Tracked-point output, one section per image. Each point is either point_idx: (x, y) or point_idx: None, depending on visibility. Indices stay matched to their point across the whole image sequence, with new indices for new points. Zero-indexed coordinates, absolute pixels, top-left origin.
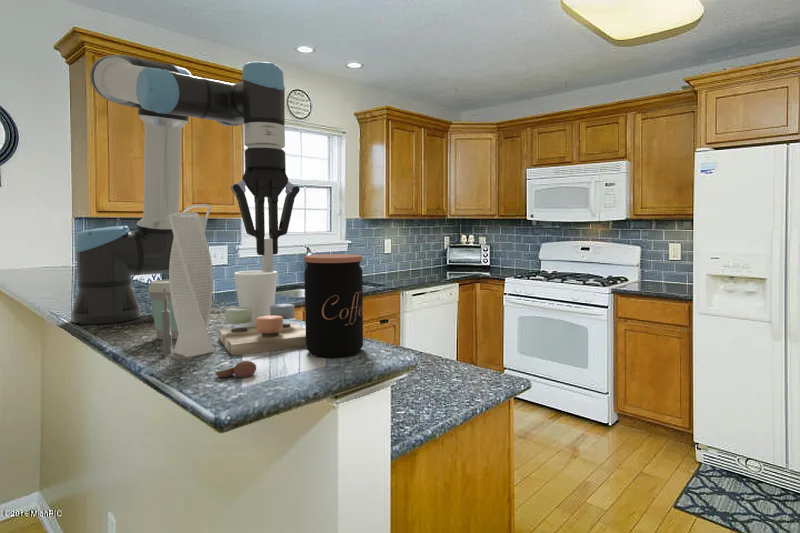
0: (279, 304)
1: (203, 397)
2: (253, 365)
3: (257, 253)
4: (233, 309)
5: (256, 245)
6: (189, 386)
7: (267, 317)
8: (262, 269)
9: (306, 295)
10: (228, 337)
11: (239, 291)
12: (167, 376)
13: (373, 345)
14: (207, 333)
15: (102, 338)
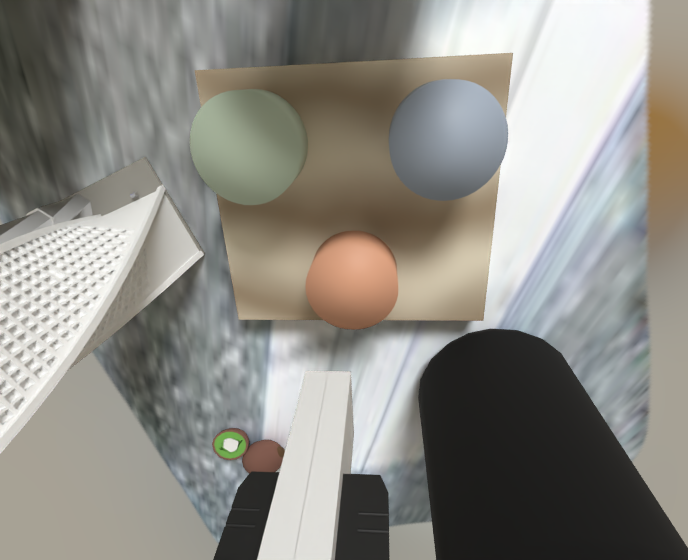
0: (449, 90)
1: (203, 502)
2: (276, 469)
3: (246, 484)
4: (222, 143)
5: (221, 537)
6: (177, 455)
7: (345, 279)
8: (304, 383)
9: (433, 518)
10: (230, 228)
11: None
12: (129, 392)
13: (612, 373)
14: (162, 291)
15: None
